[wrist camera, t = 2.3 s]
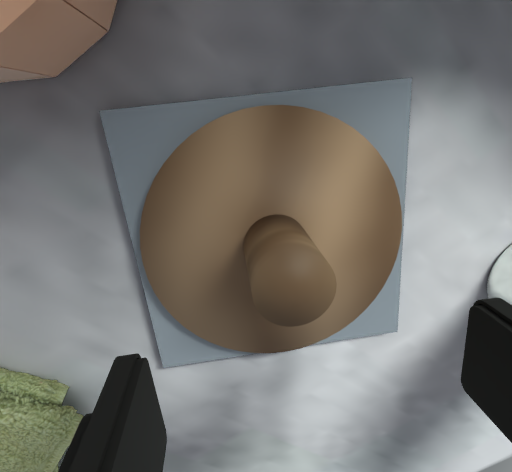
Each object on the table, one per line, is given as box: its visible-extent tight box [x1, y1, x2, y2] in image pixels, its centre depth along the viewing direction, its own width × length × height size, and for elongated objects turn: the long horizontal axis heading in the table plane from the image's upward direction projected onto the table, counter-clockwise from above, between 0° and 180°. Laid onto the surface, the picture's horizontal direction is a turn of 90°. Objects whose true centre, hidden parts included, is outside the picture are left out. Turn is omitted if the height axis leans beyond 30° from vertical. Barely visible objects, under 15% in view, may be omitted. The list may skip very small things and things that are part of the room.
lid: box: [140, 105, 402, 353], centre depth 15 cm, size 13×13×5 cm
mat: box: [99, 78, 412, 368], centre depth 18 cm, size 14×14×1 cm
